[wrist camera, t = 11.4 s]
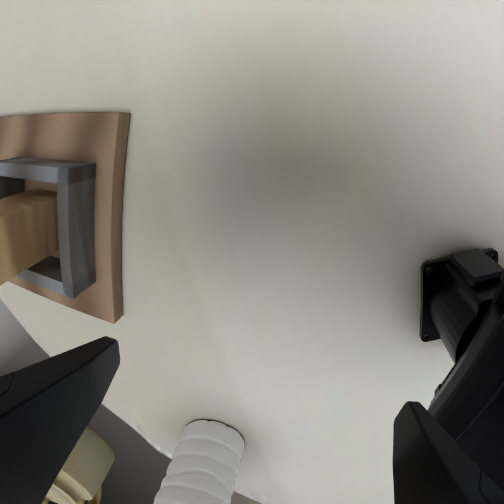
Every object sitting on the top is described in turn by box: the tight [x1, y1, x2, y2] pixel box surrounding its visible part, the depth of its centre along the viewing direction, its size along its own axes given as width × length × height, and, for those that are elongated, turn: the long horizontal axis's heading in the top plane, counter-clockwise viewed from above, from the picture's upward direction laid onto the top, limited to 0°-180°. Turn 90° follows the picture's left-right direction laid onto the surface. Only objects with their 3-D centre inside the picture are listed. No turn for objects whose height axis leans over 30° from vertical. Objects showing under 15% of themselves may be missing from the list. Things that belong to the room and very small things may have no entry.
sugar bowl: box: [42, 425, 115, 504], centre depth 29 cm, size 15×11×15 cm
